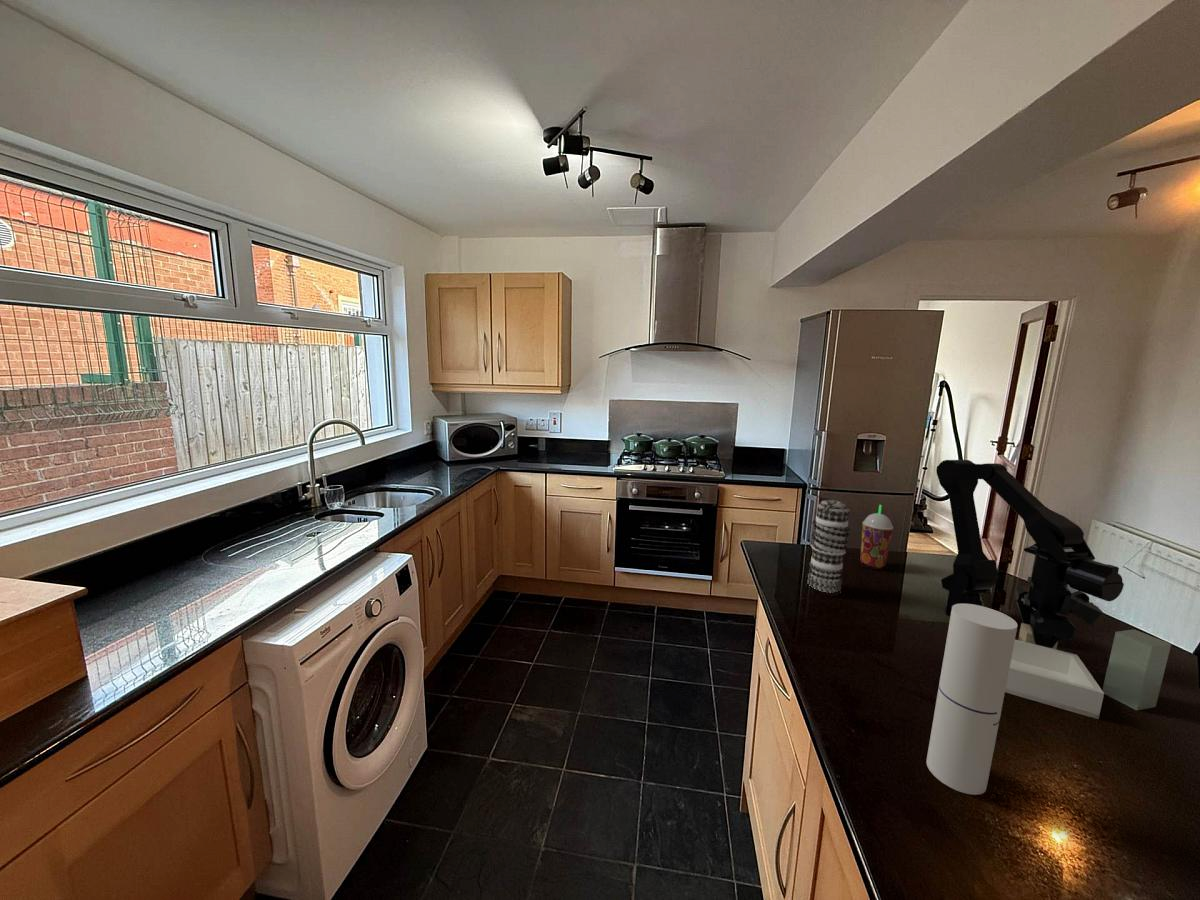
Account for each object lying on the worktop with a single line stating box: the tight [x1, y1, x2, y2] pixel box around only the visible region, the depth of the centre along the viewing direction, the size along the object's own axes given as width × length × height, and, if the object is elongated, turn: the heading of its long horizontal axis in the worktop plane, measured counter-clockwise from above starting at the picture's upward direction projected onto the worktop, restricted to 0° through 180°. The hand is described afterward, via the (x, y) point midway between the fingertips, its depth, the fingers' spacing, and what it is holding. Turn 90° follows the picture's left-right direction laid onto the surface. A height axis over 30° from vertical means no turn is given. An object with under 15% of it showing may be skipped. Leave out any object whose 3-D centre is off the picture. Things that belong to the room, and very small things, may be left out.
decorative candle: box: [806, 499, 851, 593], centre depth 128 cm, size 9×9×25 cm
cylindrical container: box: [926, 604, 1018, 796], centre depth 68 cm, size 7×7×25 cm
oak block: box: [1017, 622, 1059, 650], centre depth 103 cm, size 5×5×5 cm
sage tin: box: [1101, 628, 1172, 711], centre depth 87 cm, size 5×5×12 cm
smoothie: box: [859, 504, 894, 568], centre depth 147 cm, size 8×8×20 cm
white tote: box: [1005, 639, 1105, 720], centre depth 93 cm, size 18×14×5 cm
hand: (1035, 646), depth 103 cm, fingers open, 9 cm apart
